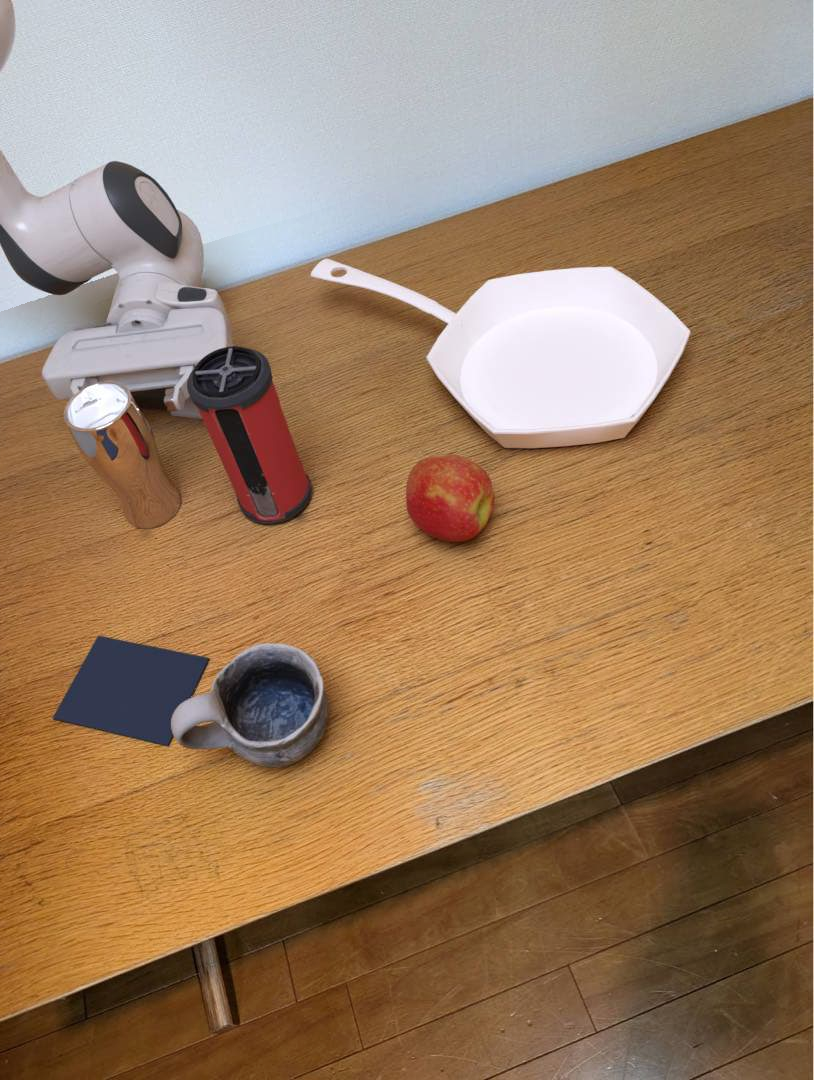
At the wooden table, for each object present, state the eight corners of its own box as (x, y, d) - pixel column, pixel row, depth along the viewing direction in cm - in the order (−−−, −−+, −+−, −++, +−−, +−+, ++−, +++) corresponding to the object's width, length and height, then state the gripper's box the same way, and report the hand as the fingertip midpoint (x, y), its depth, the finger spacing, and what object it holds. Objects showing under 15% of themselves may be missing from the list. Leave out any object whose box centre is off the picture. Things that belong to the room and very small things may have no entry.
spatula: (96, 406, 116) (90, 394, 114) (109, 387, 117) (102, 375, 116) (218, 421, 111) (213, 408, 109) (229, 401, 113) (224, 388, 111)
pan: (610, 500, 95) (610, 454, 90) (262, 382, 114) (246, 338, 109) (717, 324, 108) (722, 274, 103) (388, 242, 126) (379, 197, 121)
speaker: (235, 529, 101) (176, 402, 87) (246, 472, 105) (191, 343, 91) (309, 524, 100) (261, 395, 86) (316, 467, 104) (272, 336, 90)
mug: (362, 736, 84) (337, 678, 76) (239, 829, 81) (200, 778, 73) (301, 663, 90) (272, 601, 82) (184, 747, 86) (142, 691, 78)
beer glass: (132, 481, 107) (75, 380, 96) (192, 481, 106) (142, 378, 94) (113, 532, 103) (50, 432, 91) (175, 532, 102) (120, 431, 90)
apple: (468, 568, 93) (459, 515, 87) (395, 537, 97) (381, 484, 91) (509, 508, 97) (503, 453, 91) (437, 481, 100) (426, 426, 94)
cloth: (53, 719, 90) (52, 718, 90) (99, 637, 95) (98, 635, 95) (168, 746, 87) (167, 745, 86) (209, 659, 92) (208, 657, 91)
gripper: (48, 310, 107) (17, 400, 99) (230, 287, 105) (214, 377, 96) (72, 354, 112) (44, 443, 104) (247, 333, 110) (233, 423, 101)
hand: (128, 411), depth 100 cm, fingers open, 8 cm apart
